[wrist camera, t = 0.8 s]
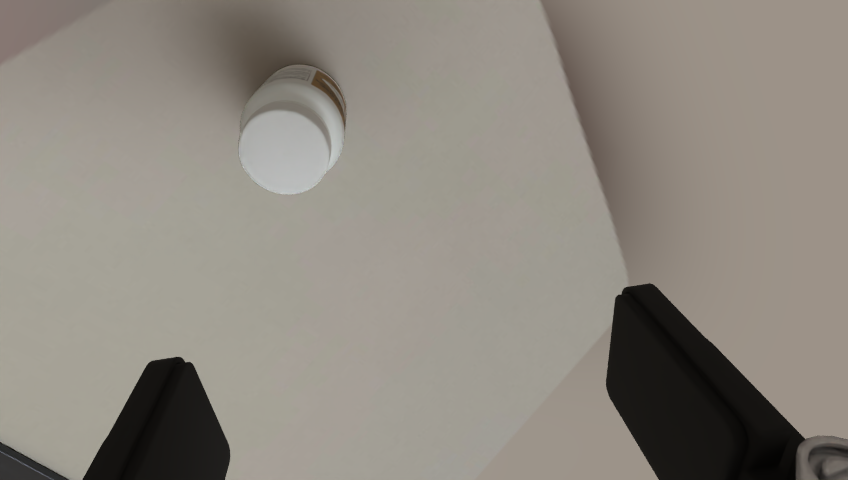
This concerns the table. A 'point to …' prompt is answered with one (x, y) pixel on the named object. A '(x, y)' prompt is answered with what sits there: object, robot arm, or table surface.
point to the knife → (22, 467)
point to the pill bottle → (292, 129)
